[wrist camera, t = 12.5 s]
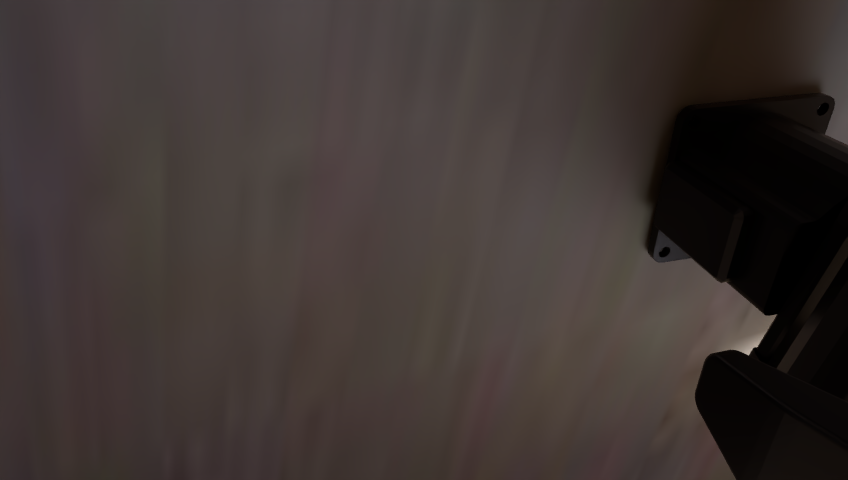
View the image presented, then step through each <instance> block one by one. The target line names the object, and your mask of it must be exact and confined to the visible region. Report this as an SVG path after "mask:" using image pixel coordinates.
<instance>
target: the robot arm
mask: <svg viewBox="0 0 848 480" xmlns="http://www.w3.org/2000/svg"><path fill="white" fill-rule="evenodd" d="M834 105H835V102H834V99H833V98H832V97H831V96H828V95H825V94H823V93H814V94H803V95H793V96H782V97H772V98H762V99H751V100H741V101H730V102H720V103H710V104H699V105H691V106H687V107H685V108H684V109H683V110H681V112H680V113H679V114H678V116H677V119H676V123H675V127H674V132H673V137H672V141H671V146H670V150H669V155H668V160H667V164H666V168H665V172H664V176H663V181H662V186H661V190H660V195H659V200H658V204H657V209H656V213H655V218H654V224H653V229H652V233H651V238H650V243H649V247H648V253H649V255H650V256H651V257H652V258H653V259H654V260H655V261H657V262H669V261H675V260H682V259H688V258H692V259H693V260H694V261H695V262H696V263H698V264H699V265H700V266H701V267H702V268H703V269H704V270H706V271H707V272H708V273H709V274H710V275H711V276H713V277H714V278H715V279H716V280H717V281H719V282H721V283H723V282H727V283H728V284H729V285H731V286H732V287H733V288H734V289H735V290H736V291H738V292H739V293H740V294H741V295H742V296H743V297H745V298H746V299H747V300H748V301H749V302H750V303H752V304H753V305H754V306H755V307H756V308H757V309H759V310H760V311H761V312H762V313H763V314H764V315H768V316H769V315H775V314H777V316H776V317H775V319H774V321H773V322H772V324H771V326H770V327H769V329H768V331H767V332H766V334H765V335H764V337H763V339H762V340H761V342H760V344H759V345H758V347H755V348H753V350H752V351H751V353H750V355H749V356H748V355H746V354H744V353H742V352H740V351H737V350H727V351H722V352H717V353H712V354H710V355H709V356H708V357H707V358H706V359H705V361H704V365H703V368H702V371H701V374H700V378H699V381H698V384H697V388H696V391H695V401H696V405H697V408H698V410H699V412H700V414H701V416H702V418H703V419H704V421H705V423H706V425H707V427H708V429H709V430H710V432H711V434H712V436H713V438H714V440H715V441H716V443H717V445H718V447H719V449H720V451H721V452H722V454H723V456H724V458H725V460H726V462H727V464H728V465H729V467H730V469H731V471H732V473H733V475H734V476H735V478H736V480H848V145H846V144H844V143H842V142H840V141H838V140H835V139H833V138H831V137H829V136H827V135H825V132H826V129H827V127H828V124H829V121H830V118H831V115H832V112H833V110H834ZM819 106H820V107H819ZM818 108H819V109H818ZM817 109H818V110H817ZM694 116H695V118H694V120H693V122H692V123H691V124H689V121H690V119H691V118H692V117H694ZM662 248H664V249H663V250H662V251H660V250H661V249H662Z"/></svg>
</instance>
